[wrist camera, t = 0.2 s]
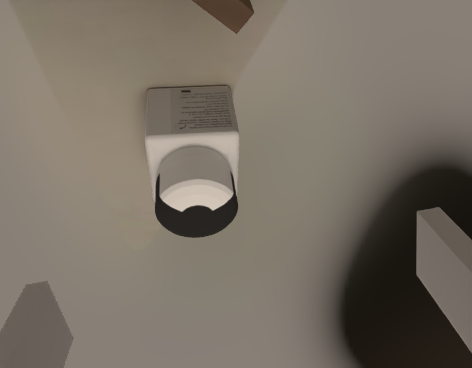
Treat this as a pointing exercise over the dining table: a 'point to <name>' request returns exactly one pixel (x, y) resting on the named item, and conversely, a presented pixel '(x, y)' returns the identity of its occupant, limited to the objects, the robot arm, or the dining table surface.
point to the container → (192, 158)
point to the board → (228, 11)
